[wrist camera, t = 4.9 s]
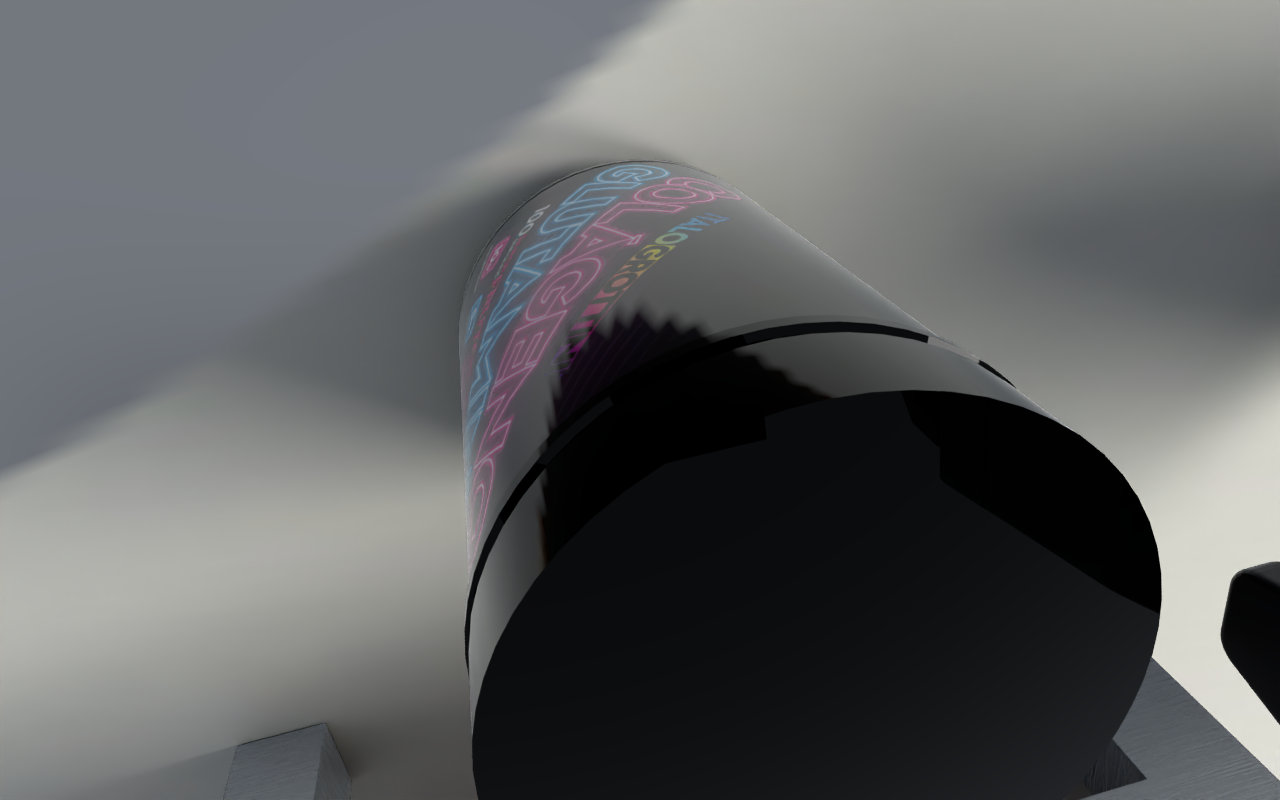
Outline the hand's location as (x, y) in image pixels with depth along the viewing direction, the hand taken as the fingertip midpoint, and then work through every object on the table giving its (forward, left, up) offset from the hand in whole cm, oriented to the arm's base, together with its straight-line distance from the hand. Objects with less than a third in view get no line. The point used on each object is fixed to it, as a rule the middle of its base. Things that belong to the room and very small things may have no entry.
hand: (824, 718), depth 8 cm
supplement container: (0, 0, -11) cm, 11 cm away
